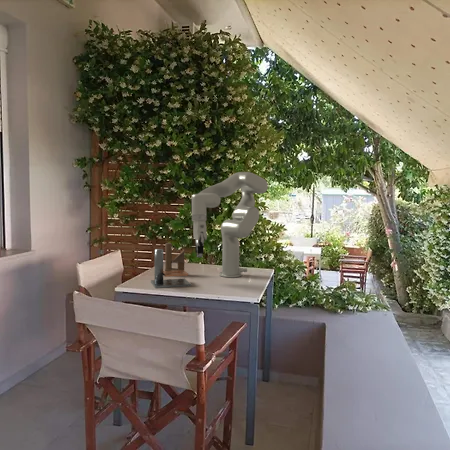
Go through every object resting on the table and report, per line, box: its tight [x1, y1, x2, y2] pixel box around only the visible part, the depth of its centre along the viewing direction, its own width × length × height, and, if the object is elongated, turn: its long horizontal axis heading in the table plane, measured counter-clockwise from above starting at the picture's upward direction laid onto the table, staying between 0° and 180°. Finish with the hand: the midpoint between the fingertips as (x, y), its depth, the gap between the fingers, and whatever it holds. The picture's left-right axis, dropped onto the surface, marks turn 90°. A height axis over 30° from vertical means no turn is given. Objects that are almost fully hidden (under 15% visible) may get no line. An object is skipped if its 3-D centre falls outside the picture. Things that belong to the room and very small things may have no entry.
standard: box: [150, 248, 192, 289], centre depth 225 cm, size 18×14×18 cm
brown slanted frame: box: [164, 242, 185, 271], centre depth 249 cm, size 4×11×18 cm, turn 99°
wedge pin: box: [196, 239, 203, 258], centre depth 230 cm, size 3×3×10 cm
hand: (199, 252), depth 231 cm, fingers closed on wedge pin, 3 cm apart
